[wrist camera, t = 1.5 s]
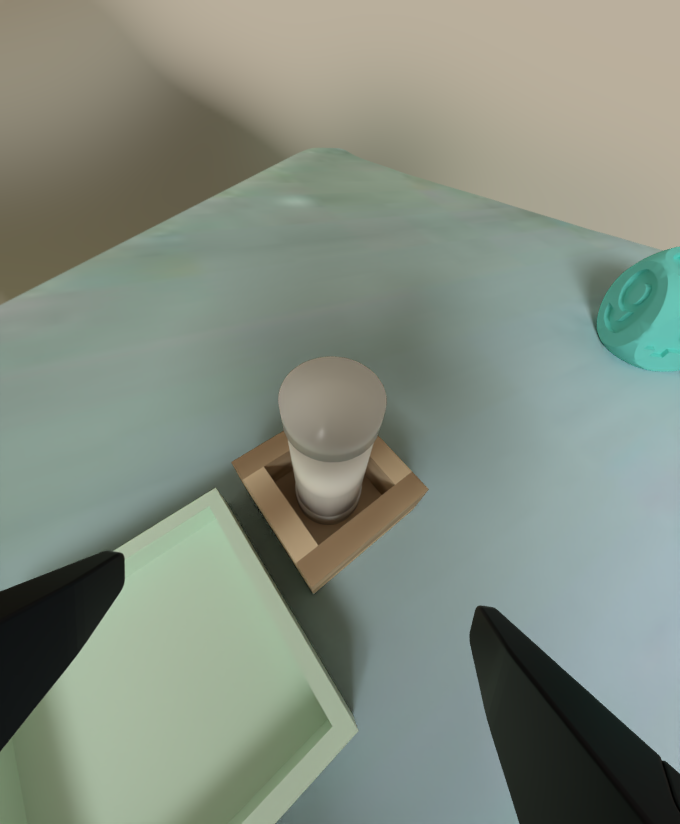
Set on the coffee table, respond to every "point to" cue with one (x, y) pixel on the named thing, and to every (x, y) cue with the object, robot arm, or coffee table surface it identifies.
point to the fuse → (330, 432)
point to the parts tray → (181, 695)
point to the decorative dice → (644, 313)
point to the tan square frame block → (316, 543)
